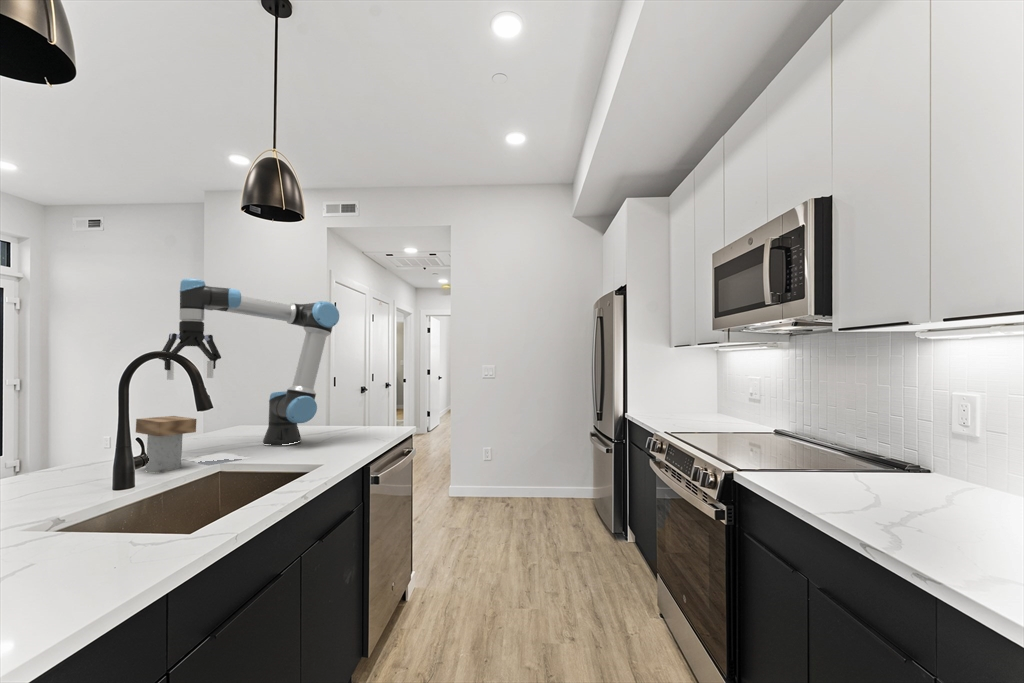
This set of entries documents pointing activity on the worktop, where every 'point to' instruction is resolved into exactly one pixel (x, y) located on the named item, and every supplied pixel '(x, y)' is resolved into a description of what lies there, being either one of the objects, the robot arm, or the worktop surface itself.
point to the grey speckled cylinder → (164, 452)
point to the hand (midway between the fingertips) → (190, 378)
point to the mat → (217, 461)
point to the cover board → (165, 425)
